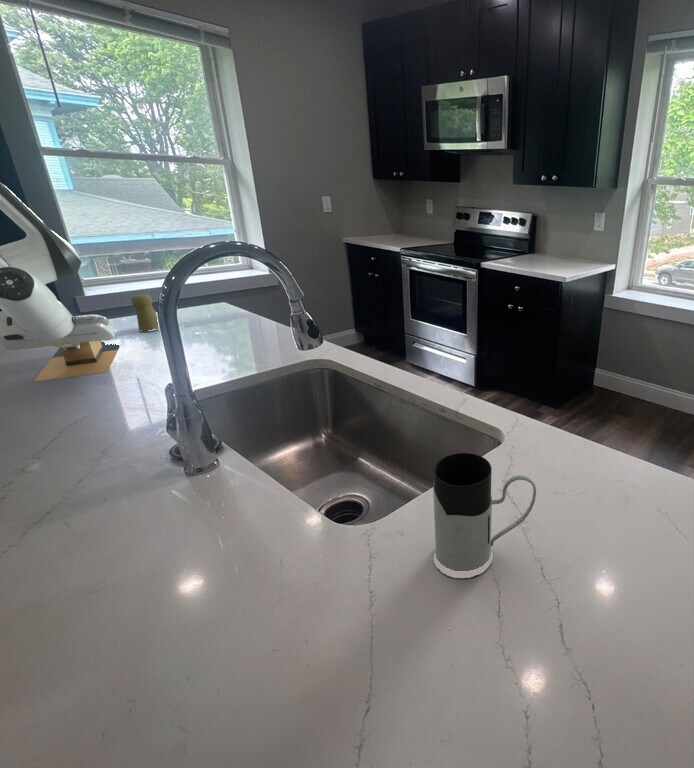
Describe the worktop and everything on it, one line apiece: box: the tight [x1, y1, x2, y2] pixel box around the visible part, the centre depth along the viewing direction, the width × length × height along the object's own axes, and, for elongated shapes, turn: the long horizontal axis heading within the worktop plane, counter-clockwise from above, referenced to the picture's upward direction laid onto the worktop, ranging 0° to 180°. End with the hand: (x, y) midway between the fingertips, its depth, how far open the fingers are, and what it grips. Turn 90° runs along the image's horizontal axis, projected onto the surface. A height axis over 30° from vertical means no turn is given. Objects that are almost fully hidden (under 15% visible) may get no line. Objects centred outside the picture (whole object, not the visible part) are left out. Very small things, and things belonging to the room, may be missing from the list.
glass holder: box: [432, 452, 537, 571], centre depth 64 cm, size 9×14×15 cm, turn 93°
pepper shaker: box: [131, 293, 158, 331], centre depth 145 cm, size 6×6×11 cm
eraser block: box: [59, 341, 104, 366], centre depth 124 cm, size 6×10×8 cm, turn 30°
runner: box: [32, 342, 121, 383], centre depth 126 cm, size 14×29×1 cm, turn 30°
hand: (72, 347), depth 119 cm, fingers closed, pressing on eraser block
